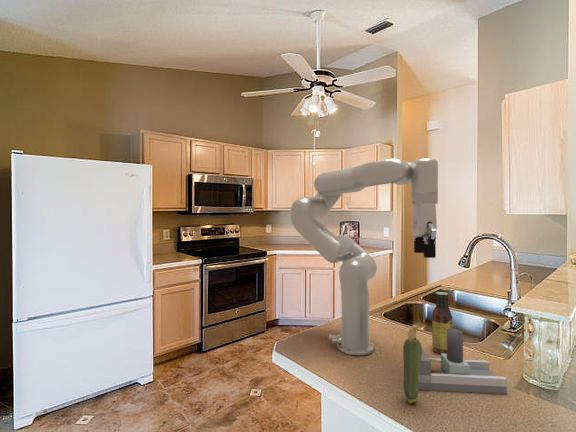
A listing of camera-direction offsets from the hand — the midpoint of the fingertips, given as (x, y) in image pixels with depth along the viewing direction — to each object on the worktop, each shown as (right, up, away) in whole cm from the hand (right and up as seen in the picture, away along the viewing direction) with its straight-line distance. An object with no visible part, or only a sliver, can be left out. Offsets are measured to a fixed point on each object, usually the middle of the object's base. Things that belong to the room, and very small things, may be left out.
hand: (424, 255), depth 97 cm
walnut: (-1, -33, -8) cm, 34 cm away
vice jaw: (+5, -32, -9) cm, 34 cm away
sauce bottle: (+10, -34, +10) cm, 37 cm away
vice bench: (+4, -35, -9) cm, 36 cm away
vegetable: (-11, -35, -17) cm, 41 cm away
